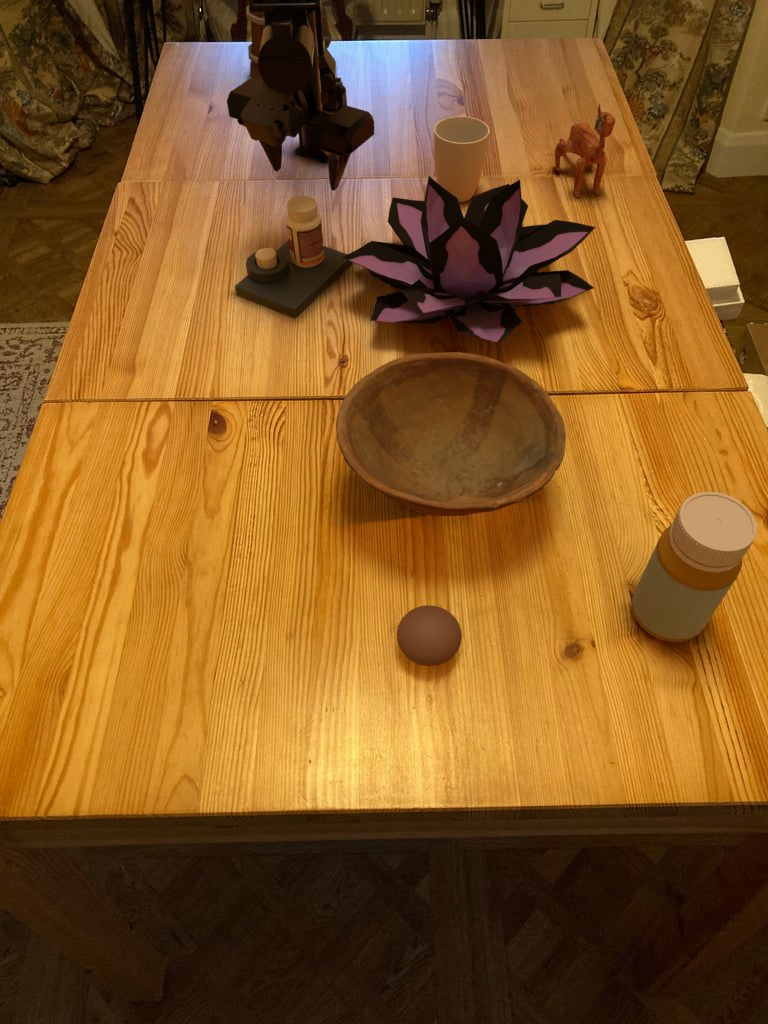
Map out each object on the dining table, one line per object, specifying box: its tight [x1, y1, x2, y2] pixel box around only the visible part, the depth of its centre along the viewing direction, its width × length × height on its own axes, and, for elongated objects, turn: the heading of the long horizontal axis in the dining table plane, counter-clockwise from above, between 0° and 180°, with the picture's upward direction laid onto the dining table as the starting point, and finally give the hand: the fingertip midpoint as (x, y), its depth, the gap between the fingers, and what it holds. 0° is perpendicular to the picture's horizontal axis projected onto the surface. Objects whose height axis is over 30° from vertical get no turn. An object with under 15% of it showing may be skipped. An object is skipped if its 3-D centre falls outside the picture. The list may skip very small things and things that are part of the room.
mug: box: [245, 4, 333, 81], centre depth 140 cm, size 16×12×15 cm
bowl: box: [335, 351, 567, 517], centre depth 80 cm, size 22×23×10 cm
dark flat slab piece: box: [234, 240, 353, 319], centre depth 106 cm, size 11×14×3 cm
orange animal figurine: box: [554, 103, 616, 198], centre depth 118 cm, size 18×7×14 cm, turn 9°
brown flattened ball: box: [396, 604, 463, 667], centre depth 71 cm, size 6×6×4 cm
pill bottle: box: [285, 195, 324, 268], centre depth 105 cm, size 5×5×8 cm
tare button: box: [255, 247, 277, 269], centre depth 105 cm, size 3×3×2 cm
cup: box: [433, 115, 490, 203], centre depth 116 cm, size 8×8×10 cm
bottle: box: [630, 491, 758, 643], centre depth 68 cm, size 7×7×15 cm
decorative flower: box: [342, 175, 596, 344], centre depth 99 cm, size 32×32×15 cm
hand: (305, 179), depth 102 cm, fingers open, 9 cm apart
